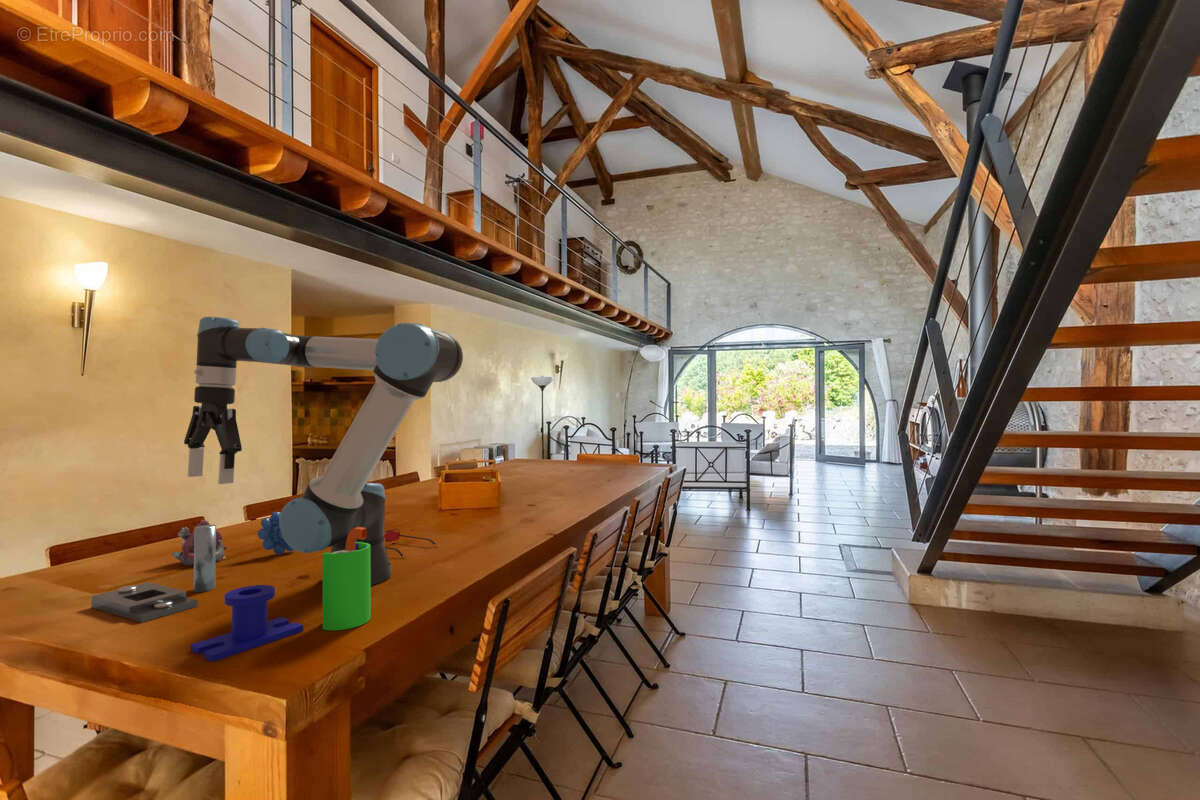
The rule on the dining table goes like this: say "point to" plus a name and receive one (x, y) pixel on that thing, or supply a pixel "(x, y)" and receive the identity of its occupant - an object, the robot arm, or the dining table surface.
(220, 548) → the red grey peaked figurine
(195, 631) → the dining table surface
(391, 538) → the glasses
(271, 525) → the grapes
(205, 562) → the pin
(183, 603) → the slotted grey clamp plate
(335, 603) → the green half cylinder
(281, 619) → the mount
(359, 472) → the robot arm
